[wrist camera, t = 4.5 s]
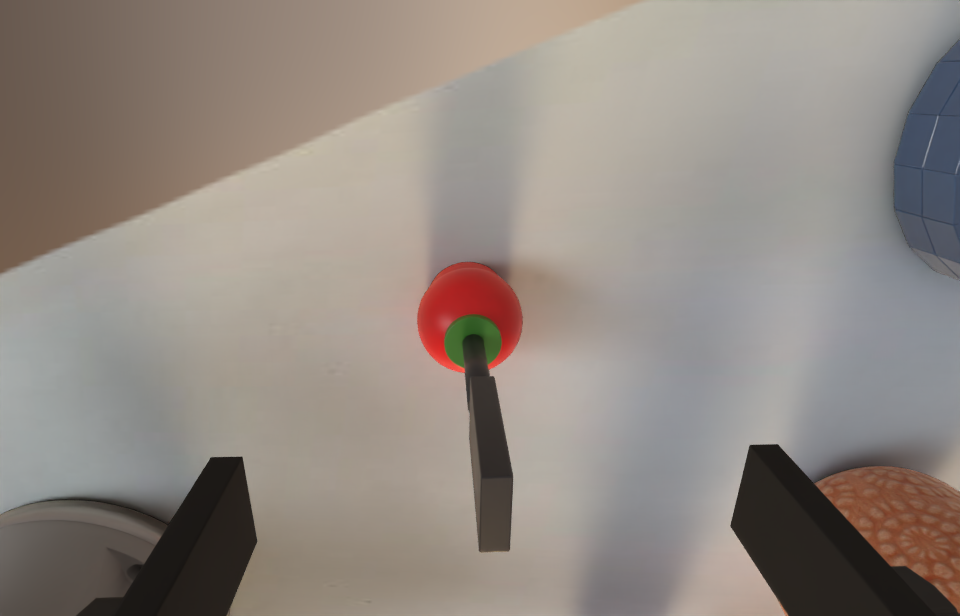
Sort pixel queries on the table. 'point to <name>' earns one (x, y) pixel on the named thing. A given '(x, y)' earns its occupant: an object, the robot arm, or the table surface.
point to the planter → (903, 520)
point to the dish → (932, 169)
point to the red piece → (477, 378)
